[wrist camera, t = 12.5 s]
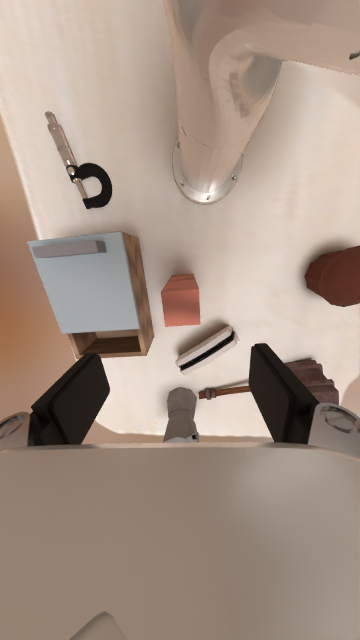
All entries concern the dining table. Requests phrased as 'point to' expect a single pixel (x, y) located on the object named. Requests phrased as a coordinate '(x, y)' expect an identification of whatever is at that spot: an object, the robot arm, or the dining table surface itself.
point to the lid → (88, 282)
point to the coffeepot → (181, 417)
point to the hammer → (306, 374)
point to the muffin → (336, 277)
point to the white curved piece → (207, 350)
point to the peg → (181, 301)
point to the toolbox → (122, 340)
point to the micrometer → (80, 167)
